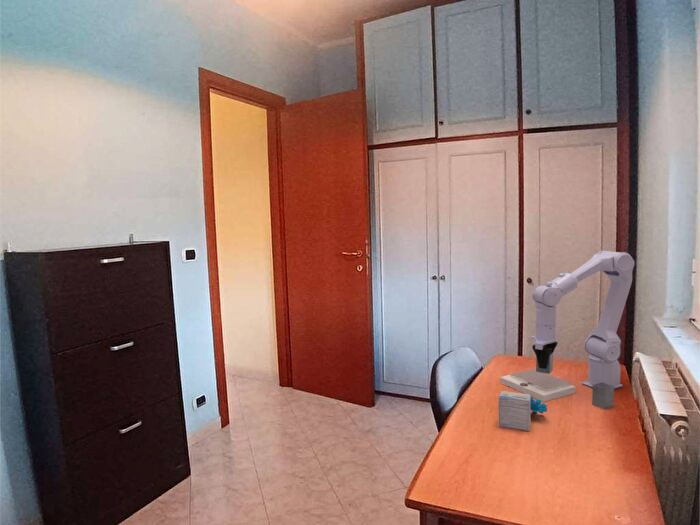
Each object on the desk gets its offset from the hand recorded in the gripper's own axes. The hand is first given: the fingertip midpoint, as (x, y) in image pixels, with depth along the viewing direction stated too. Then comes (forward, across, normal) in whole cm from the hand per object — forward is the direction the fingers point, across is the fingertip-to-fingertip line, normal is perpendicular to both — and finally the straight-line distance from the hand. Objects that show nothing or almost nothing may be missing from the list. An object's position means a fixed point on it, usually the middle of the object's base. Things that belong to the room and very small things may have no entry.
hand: (544, 366), depth 145 cm
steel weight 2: (+8, +1, +17) cm, 19 cm away
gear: (+9, +21, +1) cm, 22 cm away
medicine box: (+9, +29, 0) cm, 30 cm away
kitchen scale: (+8, -2, -3) cm, 9 cm away
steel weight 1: (+2, 0, 0) cm, 2 cm away
